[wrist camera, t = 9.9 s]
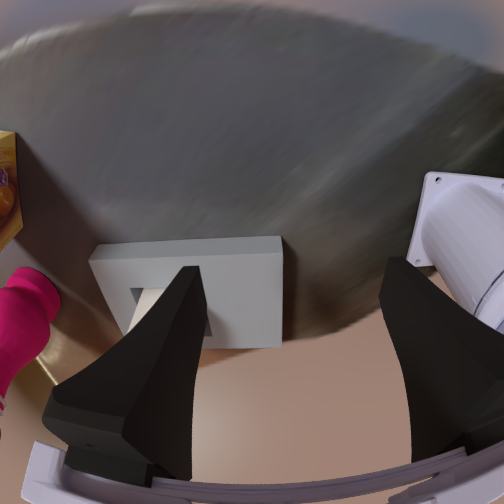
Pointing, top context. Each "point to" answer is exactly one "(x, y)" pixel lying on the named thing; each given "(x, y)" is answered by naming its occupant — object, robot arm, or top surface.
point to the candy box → (8, 190)
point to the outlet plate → (214, 282)
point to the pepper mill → (24, 322)
